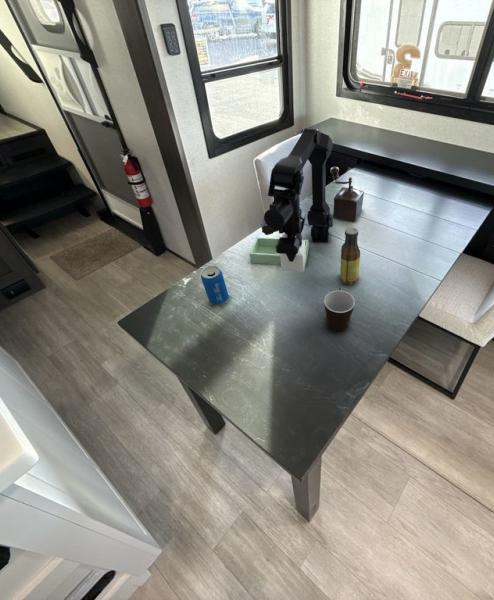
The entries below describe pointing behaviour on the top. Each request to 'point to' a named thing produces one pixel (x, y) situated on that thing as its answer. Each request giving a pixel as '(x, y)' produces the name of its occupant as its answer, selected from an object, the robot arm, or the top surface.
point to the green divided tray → (268, 251)
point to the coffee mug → (338, 309)
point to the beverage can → (214, 285)
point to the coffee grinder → (347, 200)
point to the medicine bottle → (299, 258)
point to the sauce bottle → (350, 257)
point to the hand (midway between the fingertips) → (293, 253)
